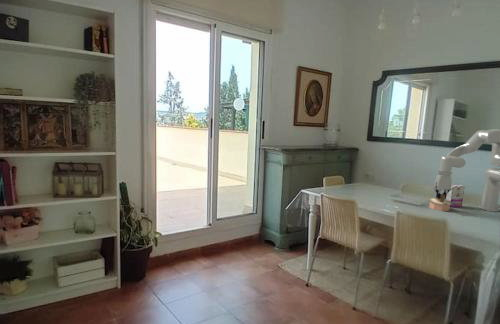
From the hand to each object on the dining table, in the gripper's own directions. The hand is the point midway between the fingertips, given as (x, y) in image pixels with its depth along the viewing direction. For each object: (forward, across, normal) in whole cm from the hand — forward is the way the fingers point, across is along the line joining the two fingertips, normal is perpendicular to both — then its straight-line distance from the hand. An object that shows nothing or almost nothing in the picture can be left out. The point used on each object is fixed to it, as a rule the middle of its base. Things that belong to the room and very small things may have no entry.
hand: (440, 198), depth 233 cm
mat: (+8, -11, +11) cm, 17 cm away
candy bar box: (+8, -16, -8) cm, 19 cm away
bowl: (+8, 0, 0) cm, 8 cm away
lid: (+3, 0, 0) cm, 3 cm away
